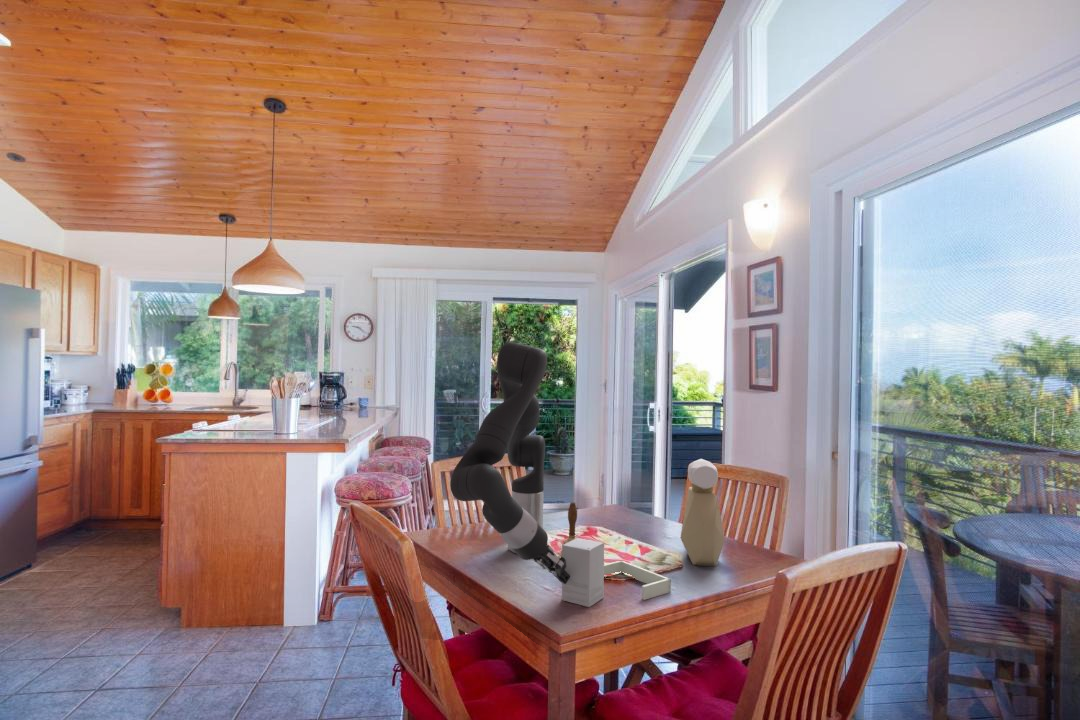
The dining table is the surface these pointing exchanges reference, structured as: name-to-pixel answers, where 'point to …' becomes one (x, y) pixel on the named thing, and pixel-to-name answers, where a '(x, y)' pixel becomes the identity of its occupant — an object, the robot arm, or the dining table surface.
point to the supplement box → (583, 572)
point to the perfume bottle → (702, 516)
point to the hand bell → (571, 523)
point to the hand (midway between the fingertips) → (565, 579)
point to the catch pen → (642, 578)
